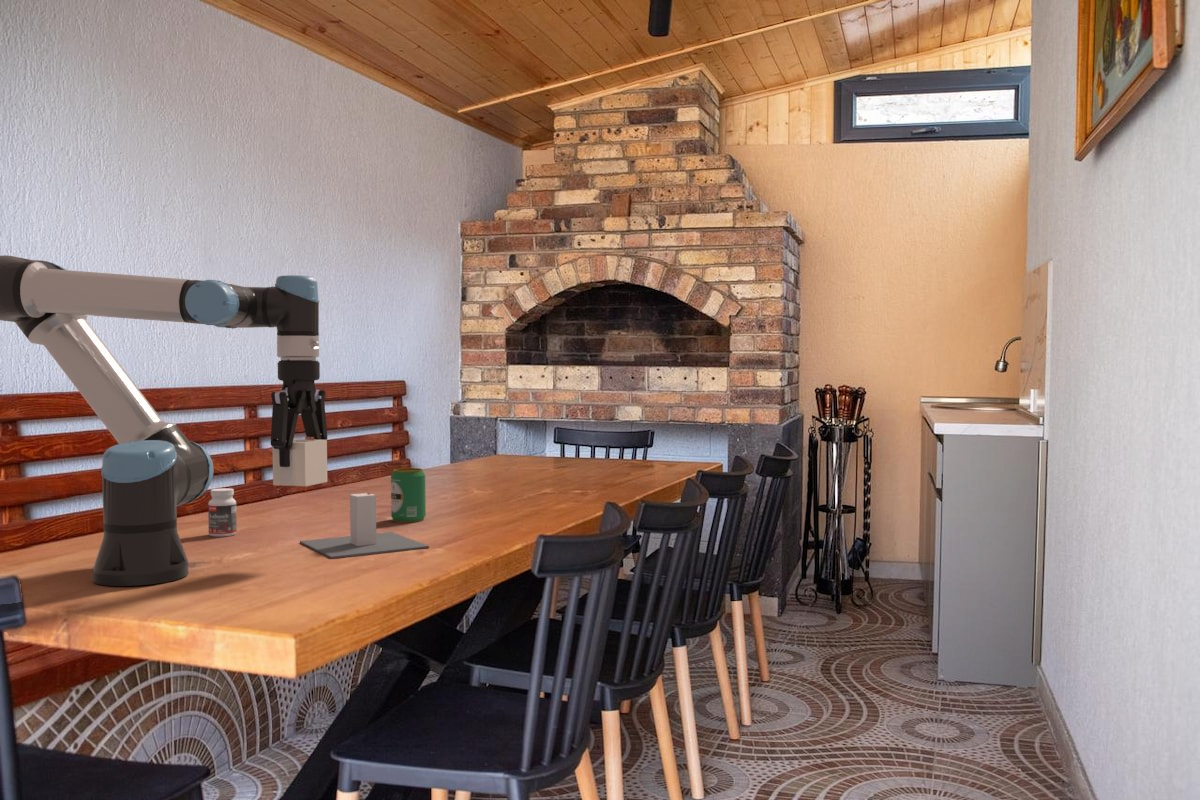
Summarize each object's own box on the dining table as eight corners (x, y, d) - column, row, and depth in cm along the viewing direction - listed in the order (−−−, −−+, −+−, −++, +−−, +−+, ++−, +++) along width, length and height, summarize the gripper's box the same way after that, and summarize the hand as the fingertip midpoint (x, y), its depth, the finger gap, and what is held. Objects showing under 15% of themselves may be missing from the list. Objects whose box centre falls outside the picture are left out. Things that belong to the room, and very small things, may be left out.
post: (331, 558, 192) (330, 502, 192) (300, 542, 209) (299, 491, 209) (428, 547, 203) (428, 495, 203) (391, 533, 220) (391, 484, 220)
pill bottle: (204, 537, 216) (203, 491, 216) (213, 532, 222) (213, 487, 222) (231, 537, 217) (231, 491, 216) (240, 532, 222) (239, 487, 222)
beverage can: (385, 519, 240) (384, 469, 239) (414, 516, 245) (413, 467, 244) (402, 523, 234) (402, 472, 233) (432, 520, 239) (431, 469, 238)
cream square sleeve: (305, 486, 184) (304, 439, 184) (273, 485, 187) (272, 439, 186) (327, 481, 191) (326, 437, 191) (295, 480, 193) (295, 436, 193)
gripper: (282, 359, 177) (285, 489, 178) (345, 359, 196) (347, 476, 197) (247, 359, 180) (249, 487, 181) (312, 359, 199) (314, 475, 200)
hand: (300, 481), depth 189 cm, fingers closed on cream square sleeve, 7 cm apart
